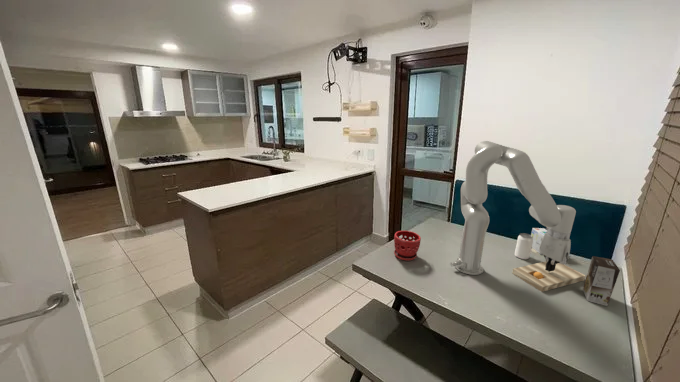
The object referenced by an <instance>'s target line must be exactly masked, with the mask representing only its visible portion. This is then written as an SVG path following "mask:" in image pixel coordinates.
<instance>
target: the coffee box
mask: <svg viewBox="0 0 680 382" xmlns="http://www.w3.org/2000/svg"><path fill="white" fill-rule="evenodd" d="M620 271H621V270H620V268H619V267H618V265H617V264H616V263H615V261H614V259H612V258H611V259H610V258H605V257H599V256H594V255H592V257H591V258H590V263H589V266H588V270H587V273H586V277H585V280H584V284H583V287H582V290H583V293H584V296H585V299H586V301H587V302H591V303H594V304H598V305H601V306H605V307H607V306H609V303H610V299H611V297H612V294H613V292H614V289H615V286H616V283H617V280H618V277H619V275H620V274H619V273H621V272H620Z"/></svg>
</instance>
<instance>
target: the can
mask: <svg viewBox="0 0 680 382" xmlns="http://www.w3.org/2000/svg"><path fill="white" fill-rule="evenodd" d="M532 244H533V236H531V234H529V233H526V232H522V233H521V232H520V233H519V235H518V236H517V240H516V246H515V250H514V256H515V257H516V258H518V259H521V260H528V259H529V260H530V256H531V252H532V249H533V248H532Z"/></svg>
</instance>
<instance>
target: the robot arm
mask: <svg viewBox="0 0 680 382" xmlns="http://www.w3.org/2000/svg"><path fill="white" fill-rule="evenodd" d="M494 164H496V165H499V166H503V167H505V168H507V170H508V171H509V173H510V175H511V177H512V179H513V181H514V183H515V186H516V188H517V190H518V191H519V192H520V193H521V195H522V196H524V198H525V199H526V200H527V201H528V202H529V203H530V206H529V208H528V212H529V215H530V216H531V217H532V218H533V219H535V220H536V221H537V222H538V223H539V224H540V225H542V226H544V227H545V229H546V230H547V231H548V232H546V233H545V234H544V236H543V238H542V241H541V243H540V247H539V252H540V253H541V254H542V256H543V257H544V259H545V261H546V269H545V270H547V271H548V272H550V271H554V270H555V266H556V264H558V263H559V264H563V265H566V264H567V261H568V260H569V259H570V253H571V245H572V244H571V243H572V242H571V241H572V240H571V239H570V236H571V234H572V233H571V232H572V229H573V225H574V222H575V217H576V213H577V211H576V209H575V208H574V207H572V206H570V205H565V204H557V203H556V202H555V200H554V198H553V197H552V195H551V194H550V192H549V191H548V189H547V187H546V186H545V185H544V184H543V182H542V180H541V178H540V177H539V174H538V172H537V170H536V169H535V166H534V164H533V162H532V159H531V158H530V156H529V155H528V153H526V152H525V151H523V150H520V149H517V148H513V147H509V146H505V145H502V144H499V143H496V142H492V141H490V140H489V141H488V140H483V141H480V142H479V143H477V144H476V145H475V147H474V155H473V156H471V158H470V160H469V161H468V162H467V165H466V168H465V180H464V181H463V182H462V184H461V187H460V209H461V214H462V216H463V218H464V225H463V228H462V233H461V241H460V248H459V256H458V257H457V259H456V260H455V261H451V262H450V263H449V265H450V267H455V268H456V269H457V271H459V272H461V273H463V274H465V275H466V274H467V275H470V276H478V275H481V274H483V273H484V266H482V265H481V264H482V258H483V250H484V246H485V239H486V234H487V231H488V230H487V229H488V227H489V224H490V216H489V212H488V211H487V209H486V208H485V207H484V206H483V203H485V202H486V200H487V198H488V194H489V193H488V175H489V170H490V168H491V167H492V166H493V165H494ZM540 253H539V254H540ZM541 254H540V255H541Z"/></svg>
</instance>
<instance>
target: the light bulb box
mask: <svg viewBox="0 0 680 382" xmlns="http://www.w3.org/2000/svg"><path fill="white" fill-rule="evenodd" d="M546 232H548V230H547V229H546V228H544V227H542V228H541V227H540V228H539V227H532V229H531V233H530V235H531V236H533V244H532V248H531V249H534V250H535V251H536V252H537V253H538V254H539V255H542V254H541V253H540V252H539V247H540V243H541V241H542V238H543V236H544V234H545V233H546ZM542 256H543V255H542Z"/></svg>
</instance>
